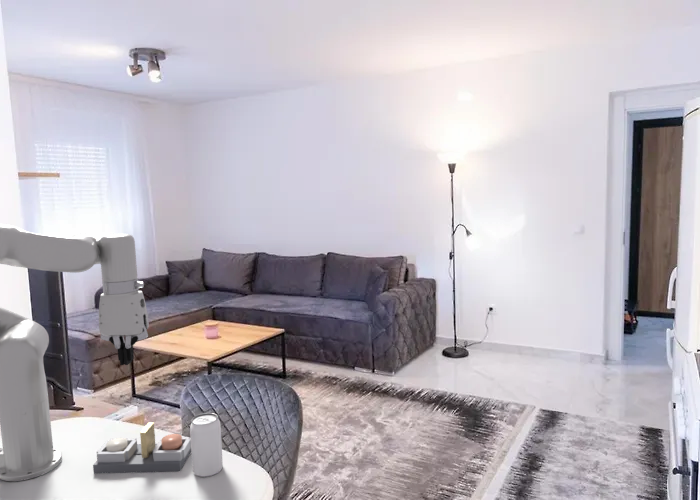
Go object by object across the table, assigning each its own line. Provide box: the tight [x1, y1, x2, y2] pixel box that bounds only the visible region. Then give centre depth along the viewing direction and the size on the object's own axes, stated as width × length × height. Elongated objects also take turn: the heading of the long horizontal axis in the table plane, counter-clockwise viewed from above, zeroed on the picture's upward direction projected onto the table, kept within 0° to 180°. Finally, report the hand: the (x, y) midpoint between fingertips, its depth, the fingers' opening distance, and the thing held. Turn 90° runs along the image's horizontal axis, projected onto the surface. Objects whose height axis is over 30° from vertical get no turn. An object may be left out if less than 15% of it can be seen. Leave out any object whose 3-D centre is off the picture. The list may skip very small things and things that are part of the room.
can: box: [189, 412, 224, 478], centre depth 116 cm, size 6×6×12 cm
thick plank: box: [139, 421, 156, 458], centre depth 120 cm, size 1×5×6 cm, turn 1°
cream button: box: [106, 437, 128, 452], centre depth 120 cm, size 4×4×2 cm
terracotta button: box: [160, 433, 183, 450], centre depth 120 cm, size 4×4×2 cm
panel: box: [92, 436, 192, 475], centre depth 120 cm, size 20×9×4 cm, turn 90°
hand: (126, 363), depth 124 cm, fingers closed
